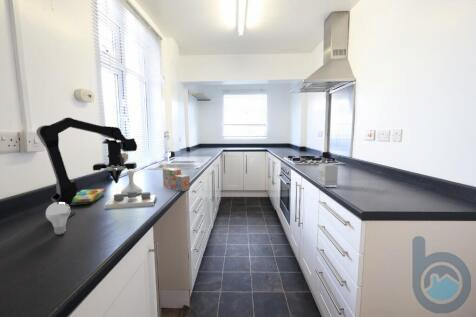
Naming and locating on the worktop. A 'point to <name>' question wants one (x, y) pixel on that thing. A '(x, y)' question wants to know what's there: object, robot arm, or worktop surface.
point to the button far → (145, 195)
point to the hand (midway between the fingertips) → (116, 183)
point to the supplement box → (328, 174)
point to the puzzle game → (87, 196)
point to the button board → (130, 202)
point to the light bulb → (58, 216)
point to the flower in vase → (130, 180)
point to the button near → (118, 197)
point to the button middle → (132, 194)
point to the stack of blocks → (175, 179)
